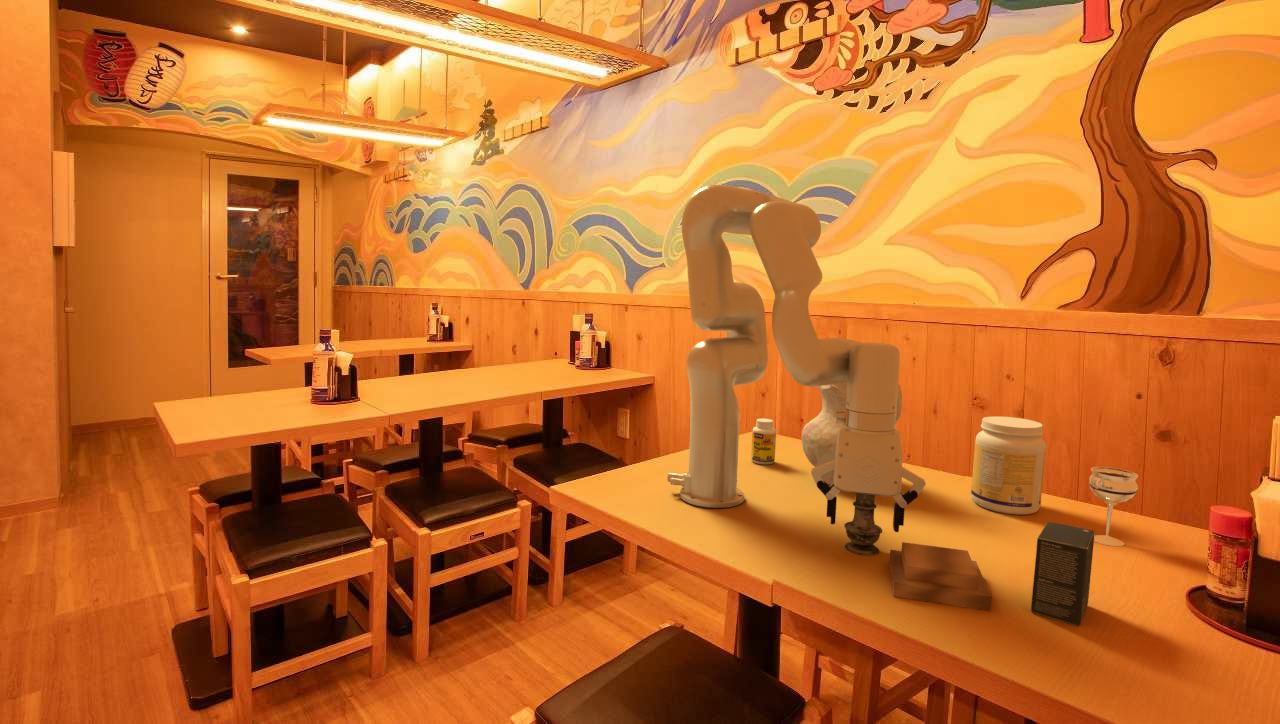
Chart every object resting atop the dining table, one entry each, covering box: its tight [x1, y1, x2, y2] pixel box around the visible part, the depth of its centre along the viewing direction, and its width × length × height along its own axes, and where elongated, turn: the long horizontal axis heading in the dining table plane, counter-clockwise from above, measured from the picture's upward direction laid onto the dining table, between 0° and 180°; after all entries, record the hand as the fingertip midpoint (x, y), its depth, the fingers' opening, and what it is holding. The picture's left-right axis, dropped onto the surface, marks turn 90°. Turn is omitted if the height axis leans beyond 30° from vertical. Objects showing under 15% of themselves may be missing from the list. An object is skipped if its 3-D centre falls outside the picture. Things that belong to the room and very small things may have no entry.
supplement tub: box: [970, 416, 1047, 516], centre depth 130 cm, size 12×12×17 cm
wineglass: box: [1088, 466, 1139, 547], centre depth 113 cm, size 7×7×12 cm
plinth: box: [888, 541, 993, 612], centre depth 95 cm, size 12×12×4 cm
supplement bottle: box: [750, 418, 777, 466], centre depth 158 cm, size 6×6×10 cm
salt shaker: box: [843, 493, 883, 556], centre depth 107 cm, size 6×6×12 cm
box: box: [1030, 521, 1095, 627], centre depth 89 cm, size 8×6×11 cm
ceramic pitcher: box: [801, 382, 903, 487], centre depth 143 cm, size 22×20×25 cm
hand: (863, 525), depth 107 cm, fingers open, 9 cm apart
